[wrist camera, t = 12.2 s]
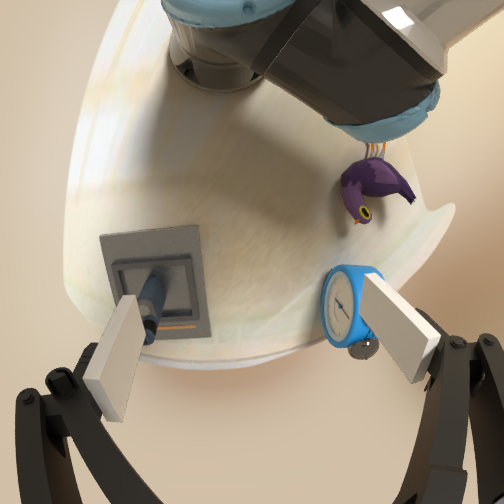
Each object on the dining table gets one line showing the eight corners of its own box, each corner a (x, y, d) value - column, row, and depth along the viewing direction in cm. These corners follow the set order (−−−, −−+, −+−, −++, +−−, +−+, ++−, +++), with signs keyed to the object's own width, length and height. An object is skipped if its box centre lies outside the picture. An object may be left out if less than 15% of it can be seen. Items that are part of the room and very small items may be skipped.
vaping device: (153, 305, 46) (139, 350, 35) (144, 277, 44) (124, 318, 33) (167, 302, 46) (156, 348, 35) (158, 274, 44) (143, 315, 33)
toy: (397, 191, 45) (419, 202, 39) (341, 216, 46) (358, 231, 40) (381, 131, 40) (404, 135, 34) (320, 154, 41) (336, 161, 35)
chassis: (101, 234, 41) (96, 238, 40) (198, 225, 43) (197, 228, 41) (127, 337, 49) (125, 344, 47) (211, 333, 50) (211, 340, 48)
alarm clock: (330, 251, 47) (371, 295, 33) (361, 253, 48) (408, 294, 34) (314, 318, 52) (343, 373, 38) (344, 317, 53) (378, 368, 39)
